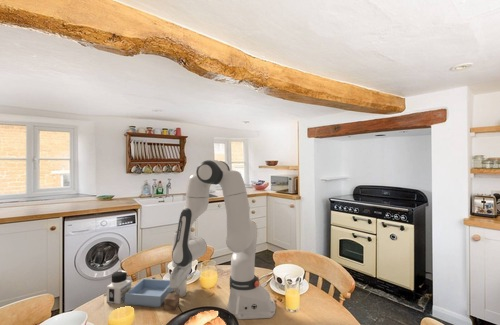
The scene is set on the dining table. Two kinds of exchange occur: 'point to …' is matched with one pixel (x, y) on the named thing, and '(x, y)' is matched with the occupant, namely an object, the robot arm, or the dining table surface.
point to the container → (118, 287)
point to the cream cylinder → (183, 288)
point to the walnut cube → (171, 301)
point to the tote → (148, 293)
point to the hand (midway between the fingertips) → (180, 288)
